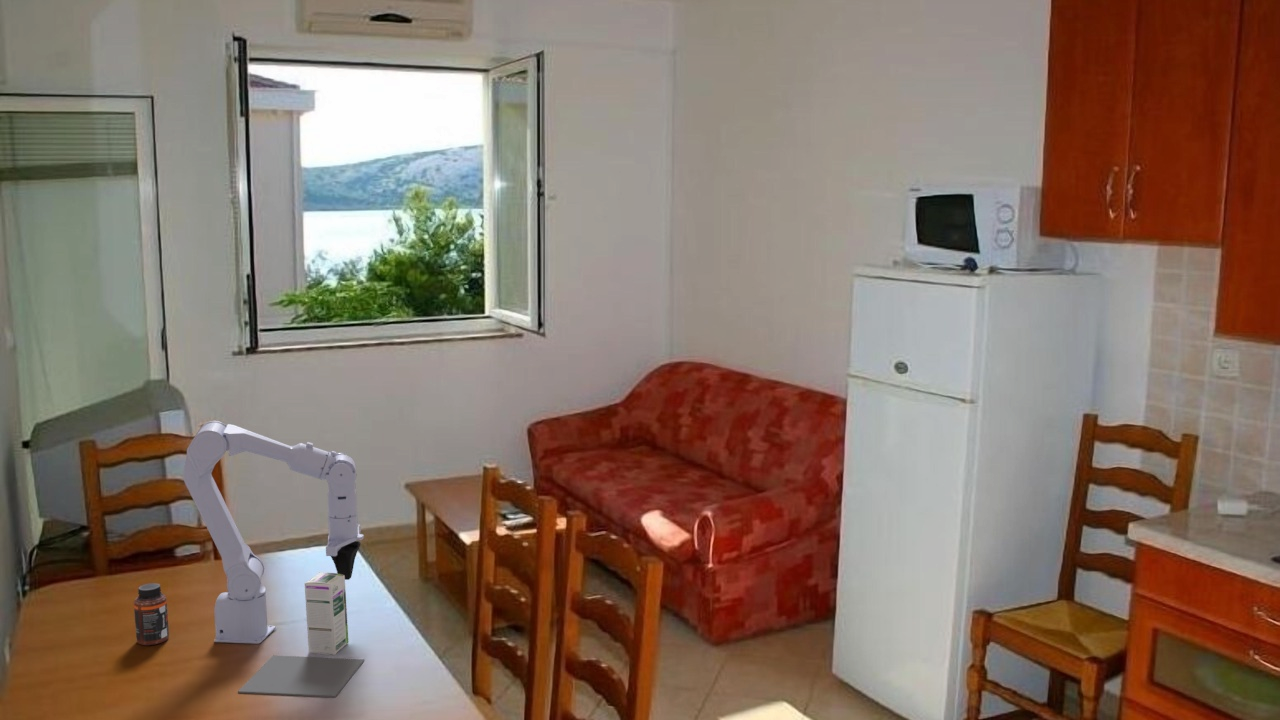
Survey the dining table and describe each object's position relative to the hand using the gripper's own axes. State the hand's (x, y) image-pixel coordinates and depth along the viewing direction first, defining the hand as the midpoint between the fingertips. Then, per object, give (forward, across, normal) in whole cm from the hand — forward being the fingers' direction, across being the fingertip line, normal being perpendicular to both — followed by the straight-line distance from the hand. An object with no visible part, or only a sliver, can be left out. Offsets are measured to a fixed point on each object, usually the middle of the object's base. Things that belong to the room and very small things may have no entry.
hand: (345, 578), depth 218 cm
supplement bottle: (+11, -10, +36) cm, 39 cm away
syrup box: (+11, -10, 0) cm, 15 cm away
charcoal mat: (+10, -23, 0) cm, 25 cm away
